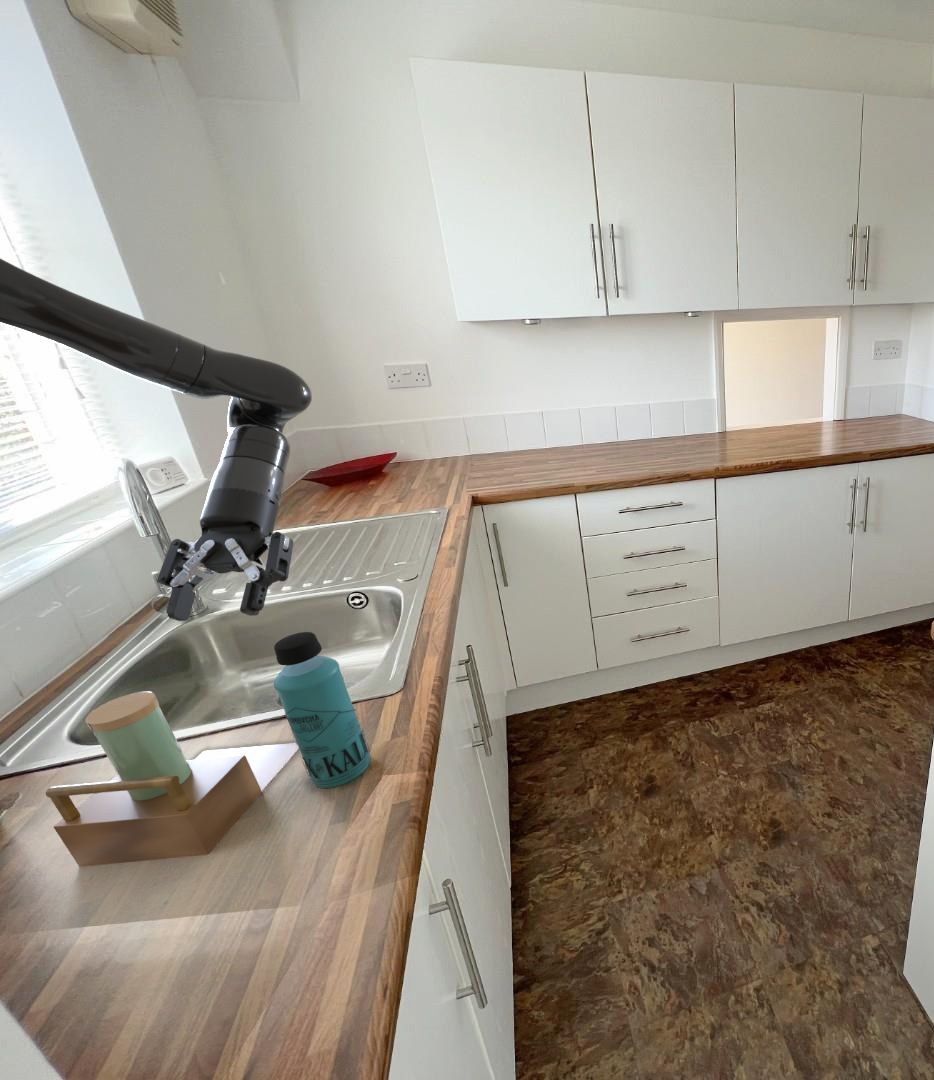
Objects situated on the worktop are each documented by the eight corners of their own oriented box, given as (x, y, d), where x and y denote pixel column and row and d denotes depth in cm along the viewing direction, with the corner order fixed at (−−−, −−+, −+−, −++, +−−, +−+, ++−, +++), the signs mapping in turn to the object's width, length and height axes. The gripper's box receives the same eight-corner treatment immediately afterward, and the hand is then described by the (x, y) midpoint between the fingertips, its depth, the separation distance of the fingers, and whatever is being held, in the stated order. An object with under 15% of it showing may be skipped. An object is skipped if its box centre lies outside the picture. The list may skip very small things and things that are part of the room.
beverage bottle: (322, 769, 73) (267, 632, 66) (380, 753, 76) (333, 618, 68) (308, 807, 68) (246, 661, 60) (372, 789, 70) (320, 646, 62)
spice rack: (85, 876, 61) (32, 796, 57) (208, 759, 76) (173, 690, 72) (213, 864, 61) (170, 783, 57) (309, 750, 77) (280, 681, 73)
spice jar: (115, 803, 61) (69, 726, 57) (157, 767, 65) (117, 693, 62) (166, 799, 61) (124, 721, 57) (204, 763, 66) (168, 689, 62)
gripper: (165, 489, 74) (124, 612, 68) (280, 481, 74) (250, 603, 68) (212, 515, 81) (179, 629, 74) (317, 507, 81) (293, 620, 75)
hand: (213, 616), depth 71 cm, fingers open, 8 cm apart
